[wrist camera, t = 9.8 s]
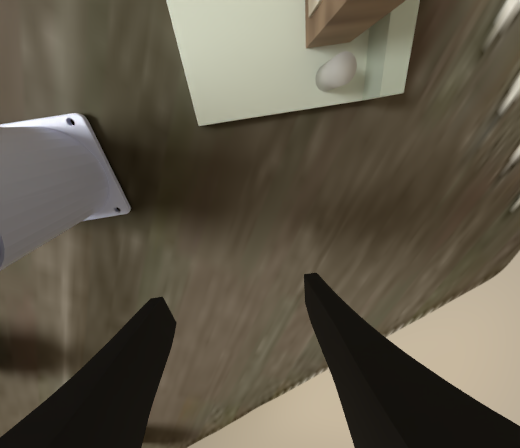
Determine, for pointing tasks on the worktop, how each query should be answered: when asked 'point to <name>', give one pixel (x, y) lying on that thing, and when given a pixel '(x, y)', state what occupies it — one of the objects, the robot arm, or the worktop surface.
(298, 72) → the ledge board
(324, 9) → the brown tapered block
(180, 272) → the worktop surface
